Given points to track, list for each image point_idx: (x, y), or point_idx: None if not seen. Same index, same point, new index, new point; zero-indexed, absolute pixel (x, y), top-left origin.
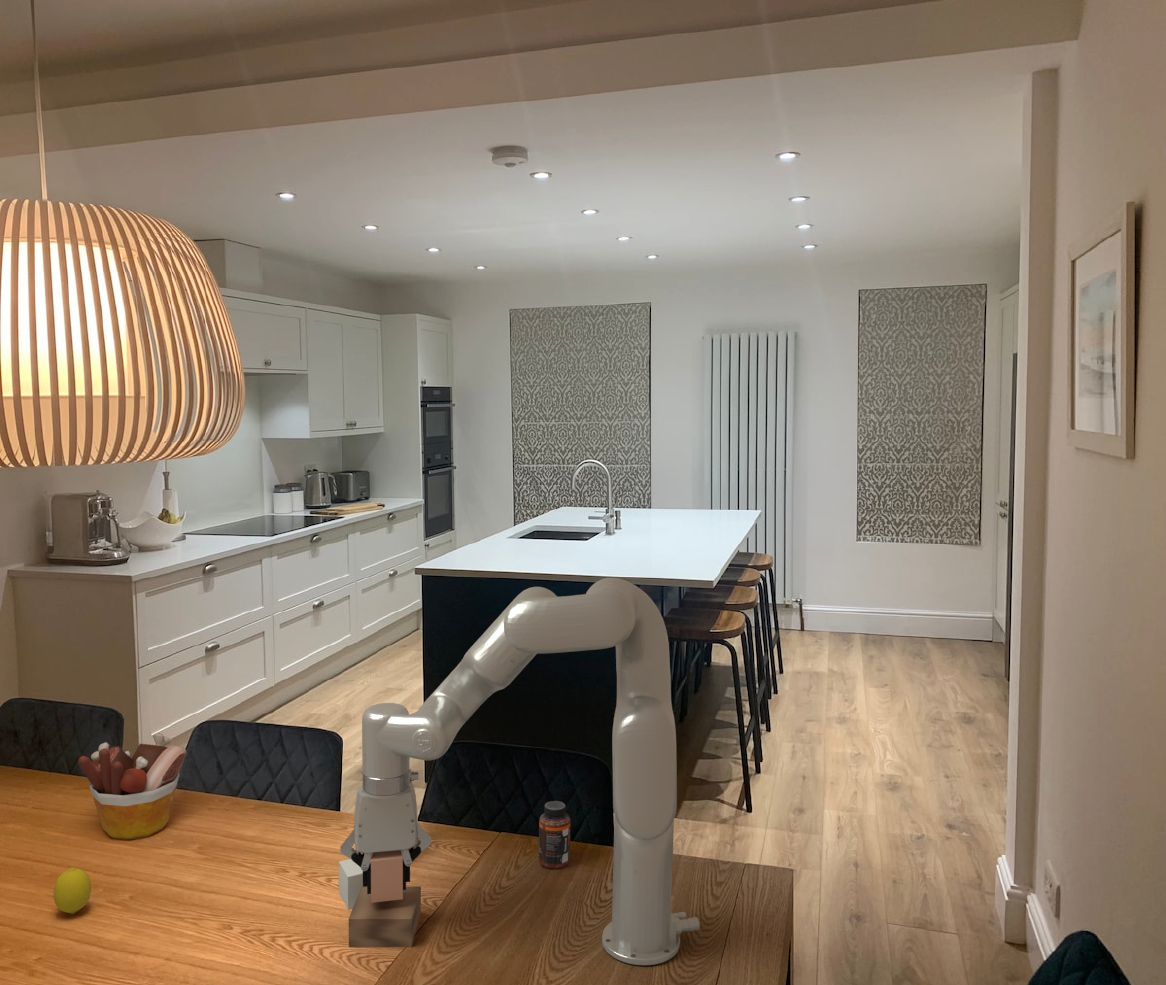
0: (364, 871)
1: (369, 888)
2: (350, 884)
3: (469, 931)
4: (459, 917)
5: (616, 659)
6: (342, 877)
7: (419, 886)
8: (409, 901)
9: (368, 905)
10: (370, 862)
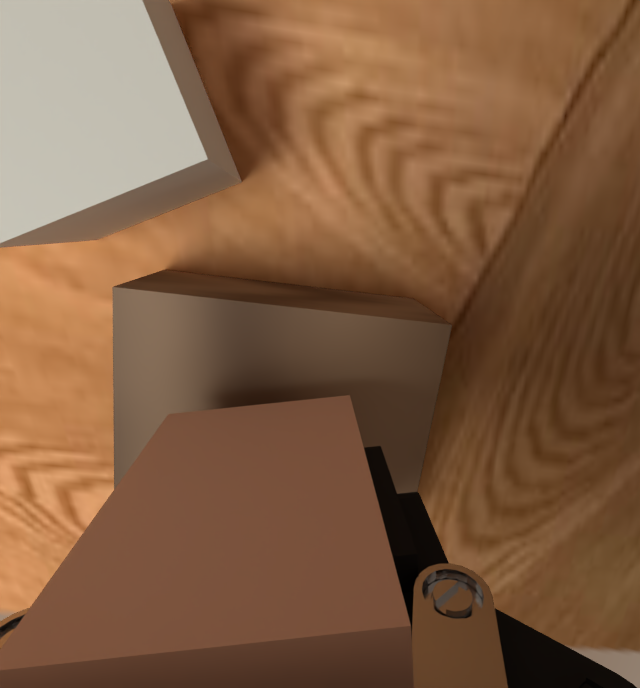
0: None
1: None
2: (38, 241)
3: (580, 442)
4: (561, 350)
5: None
6: None
7: (444, 325)
8: (388, 463)
9: None
10: (95, 526)
